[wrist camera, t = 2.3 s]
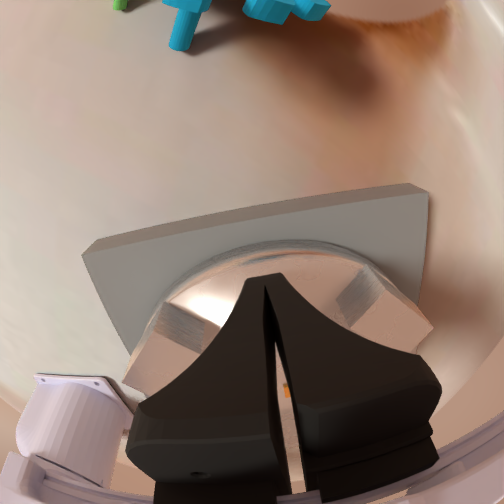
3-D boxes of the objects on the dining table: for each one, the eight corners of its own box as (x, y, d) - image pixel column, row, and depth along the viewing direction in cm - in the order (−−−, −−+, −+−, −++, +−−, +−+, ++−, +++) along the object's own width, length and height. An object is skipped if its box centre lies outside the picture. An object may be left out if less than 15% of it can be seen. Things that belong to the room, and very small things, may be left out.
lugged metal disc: (193, 436, 20) (190, 476, 16) (100, 271, 13) (65, 319, 9) (385, 403, 19) (400, 440, 16) (416, 214, 13) (465, 248, 9)
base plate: (188, 420, 22) (186, 440, 20) (96, 239, 15) (79, 256, 13) (385, 386, 22) (393, 404, 20) (409, 183, 14) (430, 193, 12)
